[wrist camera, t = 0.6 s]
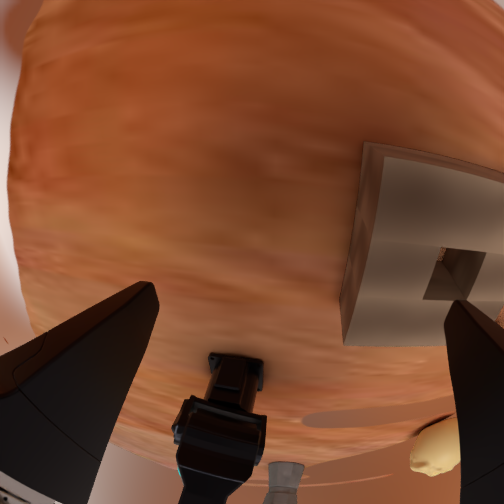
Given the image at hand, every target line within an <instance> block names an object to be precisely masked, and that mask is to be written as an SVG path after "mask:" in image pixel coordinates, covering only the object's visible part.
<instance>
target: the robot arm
mask: <svg viewBox="0 0 504 504" xmlns="http://www.w3.org/2000/svg"><path fill="white" fill-rule="evenodd" d="M158 312H159V301H158V297H157V294H156V290H155V287H154V284H153V283H152V282H147V281H139V282H137V283H135V284H133V285H131V286H129V287H127V288H125V289H124V290H122V291H120V292H118V293H116V294H114V295H112V296H111V297H109V298H107V299H105V300H103V301H101V302H99V303H98V304H96V305H94V306H92V307H90V308H88V309H87V310H85V311H83V312H81V313H79V314H77V315H76V316H74V317H72V318H70V319H68V320H67V321H65V322H63V323H61V324H59V325H58V326H56V327H54V328H52V329H51V330H49V331H48V332H45V333H43V334H42V335H40V336H38V337H36V338H35V339H33V340H31V341H29V342H27V343H26V344H24V345H22V346H20V347H18V348H16V349H14V350H12V351H10V352H7V353H5V354H4V355H1V356H0V504H55V503H54V502H55V501H58V502H60V503H62V504H87V503H88V500H89V497H90V493H91V491H92V488H93V485H94V482H95V478H96V475H97V473H98V469H99V467H100V464H101V462H100V461H102V458H103V455H104V452H105V450H106V447H107V444H108V442H109V439H110V436H111V434H112V431H113V428H114V426H115V423H116V421H117V418H118V416H119V413H120V411H121V408H122V406H123V403H124V401H125V398H126V396H127V393H128V391H129V389H130V386H131V384H132V381H133V379H134V377H135V374H136V372H137V370H138V368H139V365H140V363H141V361H142V358H143V356H144V354H145V351H146V348H147V345H148V342H149V339H150V336H151V333H152V330H153V327H154V324H155V321H156V318H157V315H158ZM444 333H445V339H446V346H447V354H448V362H449V370H450V376H451V381H452V387H453V392H454V399H455V405H456V413H457V421H458V431H459V443H460V462H461V489H460V504H504V329H503V328H502V327H501V326H500V325H498V324H497V323H496V322H495V321H493V320H492V319H491V318H490V317H488V316H487V315H486V314H484V313H483V312H482V311H481V310H479V309H478V308H477V307H475V306H474V305H473V304H471V303H470V302H469V301H467V300H465V299H457V300H454V301H453V303H452V305H451V307H450V309H449V312H448V314H447V316H446V318H445V321H444ZM208 360H209V365H210V369H211V374H212V376H211V379H210V382H209V385H208V388H207V391H206V394H205V397H204V399H201V398H197V397H196V396H194V395H191V396H190V399H184V402H183V405H182V407H181V410H180V412H179V414H178V416H177V417H176V419H175V421H174V423H173V425H172V428H171V429H172V431H173V433H174V444H176V445H179V447H178V450H177V453H176V461H177V466H178V469H179V472H180V476H181V478H182V482H183V485H184V487H183V491H182V494H181V497H180V500H179V503H178V504H226V500H227V498H228V496H229V495H231V494H232V493H233V492H234V491H235V490H236V489H237V488H239V487H240V486H241V485H242V484H243V483H245V482H246V481H247V480H248V479H249V478H250V477H251V475H252V471H253V468H254V466H257V465H258V464H259V462H260V460H261V457H262V455H263V451H264V447H265V437H266V423H267V416H266V415H258V414H254V413H252V412H253V407H254V402H255V397H256V392H257V391H262V388H263V364H264V363H263V362H262V361H260V360H252V359H245V358H238V357H231V356H224V355H218V354H209V356H208Z"/></svg>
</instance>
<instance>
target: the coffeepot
mask: <svg viewBox="0 0 504 504" xmlns="http://www.w3.org/2000/svg"><path fill="white" fill-rule="evenodd" d="M303 470H304V466H303V465H302V464H299V463H294V462H273V463H270V464H269V492H268V493H267V494H266V497H265V500H264V502H263V504H297V495H296V493H297V488H298V486H299V483H300V480H301V477H302V474H303Z"/></svg>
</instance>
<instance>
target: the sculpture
mask: <svg viewBox="0 0 504 504" xmlns="http://www.w3.org/2000/svg"><path fill="white" fill-rule="evenodd" d="M459 462H460V443H459V431H458V421H457V418H450V419H446V420H444V421H441V422H439V423H436V424H434V425H431V426H429V427H427V428H425V429H423V430H422V431H421V432H420V434H419V435H418V437H417V439H416V442H415V445H414V448H413V450H412V451H411V453H410V468H411V469H412V470H413V471H416V472H421V473H425V474H427V475H429V476H435V475H438V474H439V473H445V472H446V471H450V470H452V469H453V467H454V466H455V465H456V464H458V463H459Z"/></svg>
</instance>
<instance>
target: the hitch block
mask: <svg viewBox="0 0 504 504" xmlns="http://www.w3.org/2000/svg"><path fill="white" fill-rule="evenodd" d="M441 247H446V248H447V249H446V252H445V255H444V258H443V261H442V262H440V261H437V258H438V255H439V252H440V249H441ZM457 299H465V300H467V301H469V302H470V303H471V304H473V305H474V306H475V307H477V308H478V309H479V310H481V311H482V312H483V313H484V314H486V315H487V316H488V317H490V318H491V319H492V320H493V321H495V320H496V318H497V316H498V315H499V313H500V311H501V309H502V307H503V305H504V173H501V172H498V171H495V170H492V169H489V168H486V167H483V166H479V165H476V164H472V163H469V162H465V161H461V160H458V159H454V158H450V157H446V156H441V155H437V154H433V153H428V152H423V151H419V150H414V149H409V148H403V147H398V146H392V145H386V144H379V143H373V142H365V141H364V144H363V156H362V166H361V175H360V184H359V192H358V199H357V207H356V213H355V220H354V226H353V233H352V238H351V244H350V250H349V255H348V261H347V266H346V271H345V276H344V280H343V285H342V290H341V294H340V299H339V302H340V312H341V323H342V335H343V345H345V346H376V347H416V346H446V339H445V333H444V321H445V318H446V316H447V314H448V312H449V309H450V307H451V305H452V303H453V301H454V300H457Z"/></svg>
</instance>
